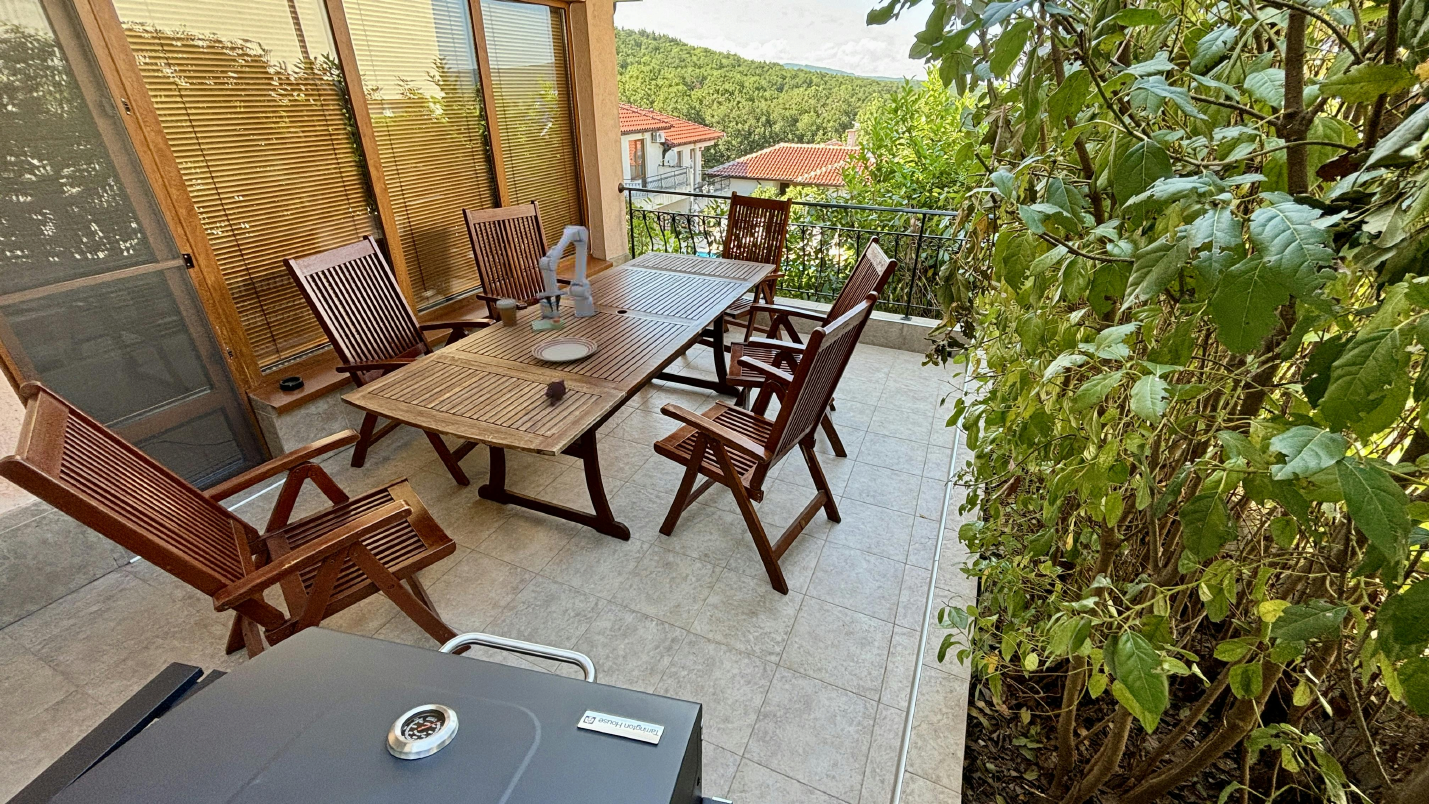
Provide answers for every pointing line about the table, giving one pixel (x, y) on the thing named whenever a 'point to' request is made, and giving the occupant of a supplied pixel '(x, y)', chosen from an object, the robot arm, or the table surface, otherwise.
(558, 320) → the power button
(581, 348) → the dinner plate
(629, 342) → the table surface
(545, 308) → the medicine box
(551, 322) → the scale
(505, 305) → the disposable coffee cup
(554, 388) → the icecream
